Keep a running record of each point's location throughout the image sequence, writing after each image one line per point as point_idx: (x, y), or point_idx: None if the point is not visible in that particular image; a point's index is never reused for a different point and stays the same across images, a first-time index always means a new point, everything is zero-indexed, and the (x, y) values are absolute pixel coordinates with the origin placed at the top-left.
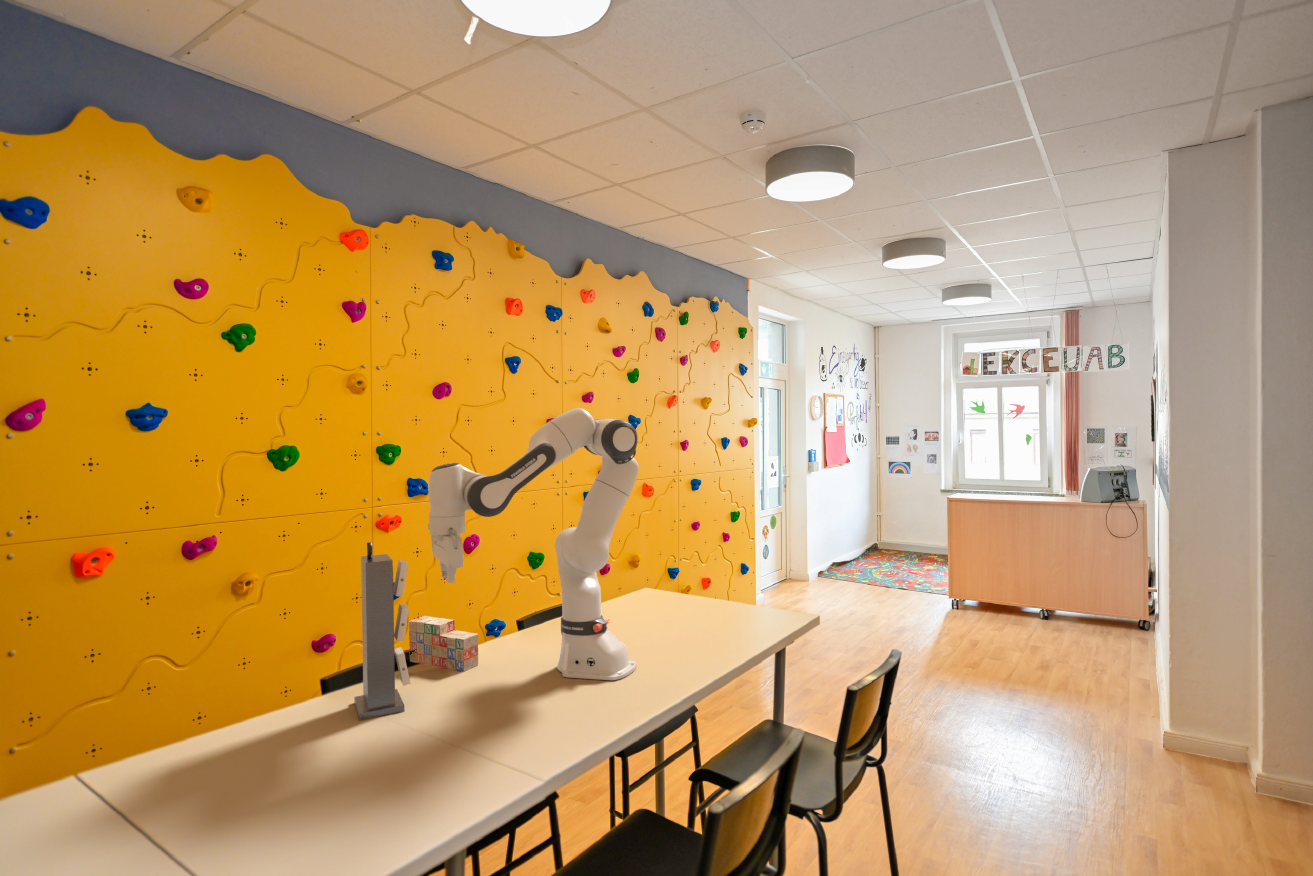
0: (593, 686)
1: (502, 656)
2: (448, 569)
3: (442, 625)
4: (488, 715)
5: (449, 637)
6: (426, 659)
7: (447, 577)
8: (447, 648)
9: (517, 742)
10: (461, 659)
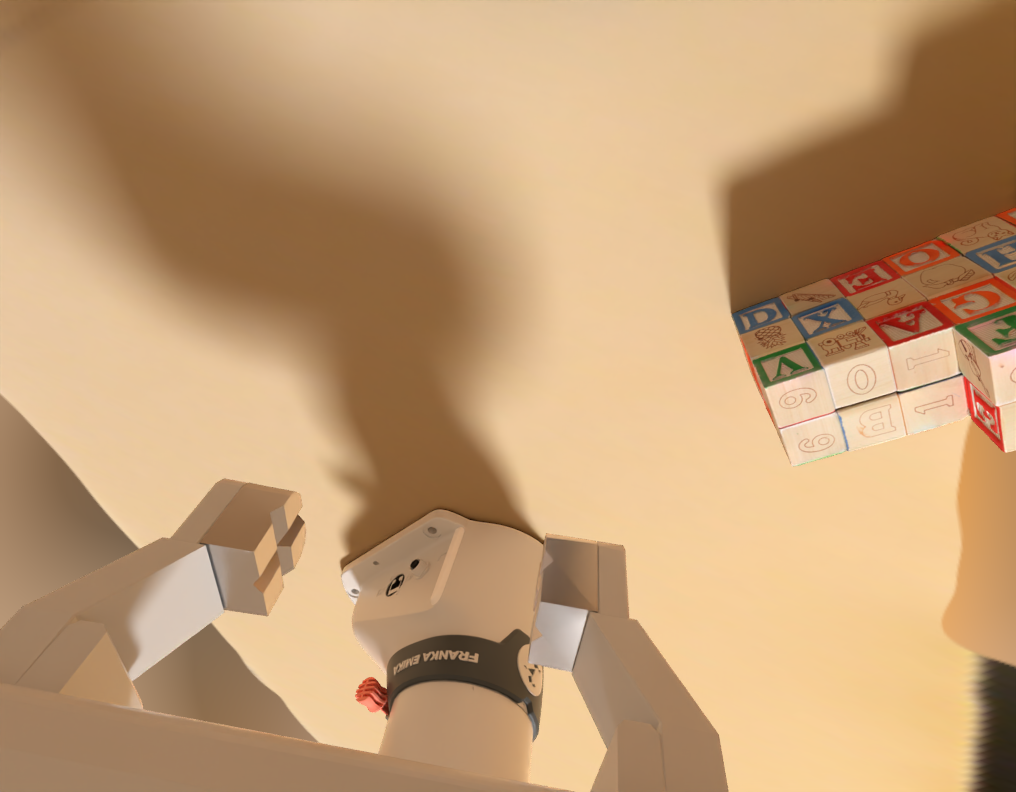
0: (335, 522)
1: (771, 478)
2: (15, 624)
3: (987, 371)
4: (253, 217)
5: (869, 352)
6: (991, 230)
7: (192, 523)
8: (861, 318)
9: (23, 206)
10: (753, 333)
